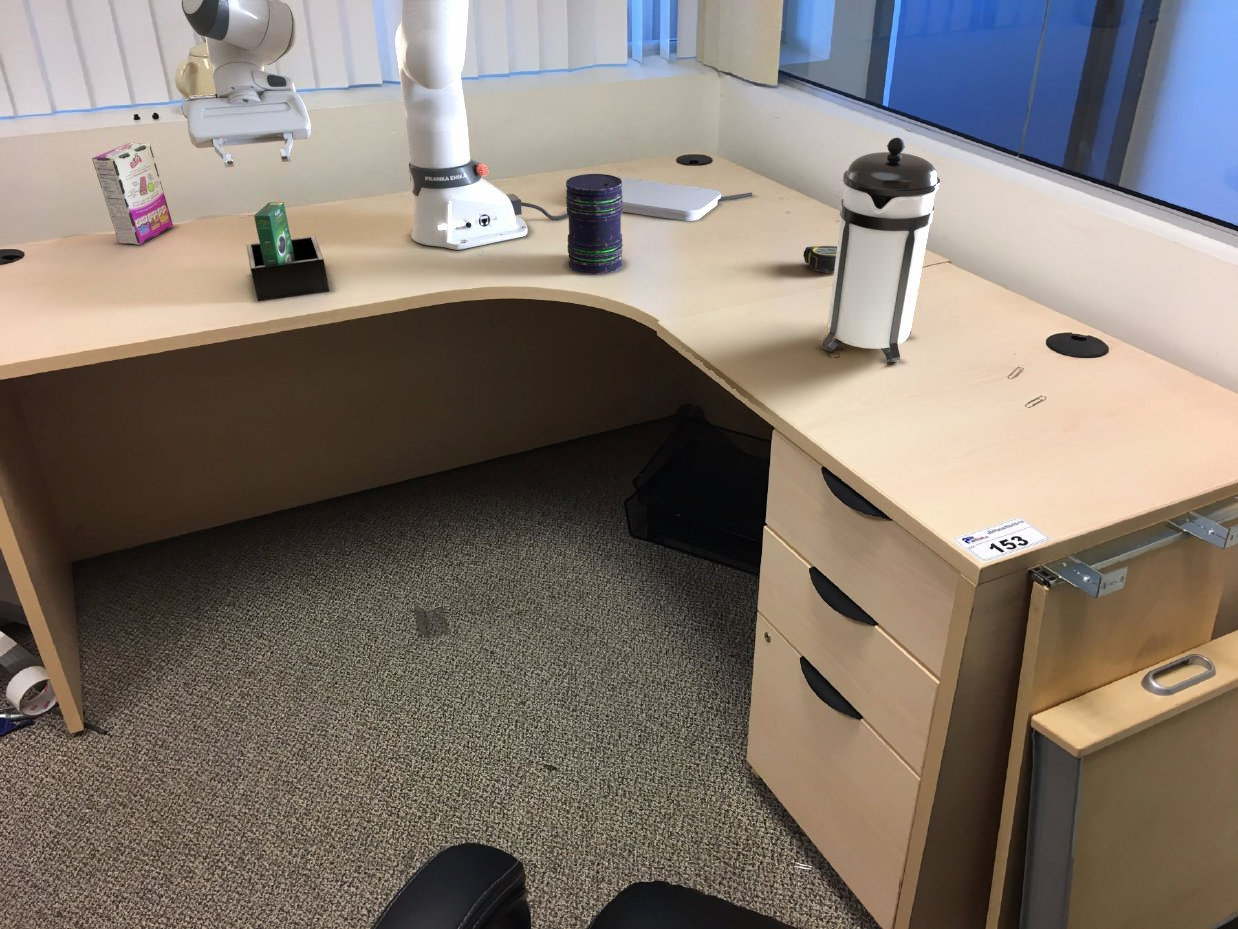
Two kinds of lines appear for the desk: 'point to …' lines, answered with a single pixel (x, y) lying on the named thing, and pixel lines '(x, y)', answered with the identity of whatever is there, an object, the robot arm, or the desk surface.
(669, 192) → the tablet
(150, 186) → the candy bar box
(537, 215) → the desk surface
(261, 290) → the desk tray
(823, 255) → the tape measure
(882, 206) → the coffee press
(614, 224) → the storage jar
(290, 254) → the coffee box
